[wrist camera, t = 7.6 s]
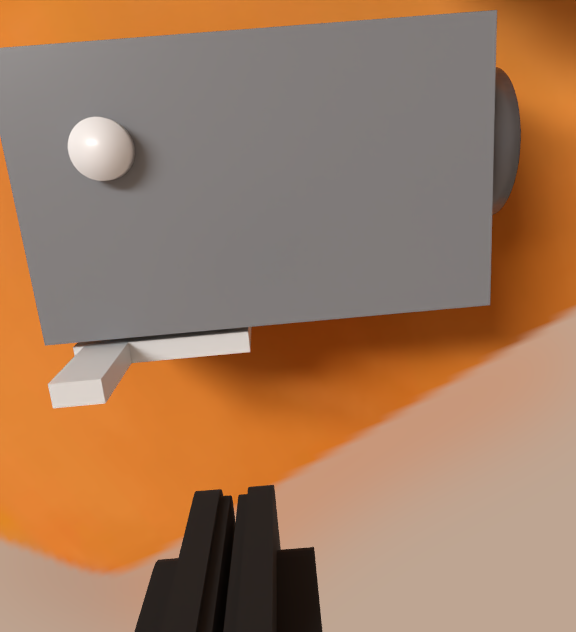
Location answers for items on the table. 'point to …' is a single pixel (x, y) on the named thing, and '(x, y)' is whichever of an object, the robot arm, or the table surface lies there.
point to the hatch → (134, 361)
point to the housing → (258, 173)
